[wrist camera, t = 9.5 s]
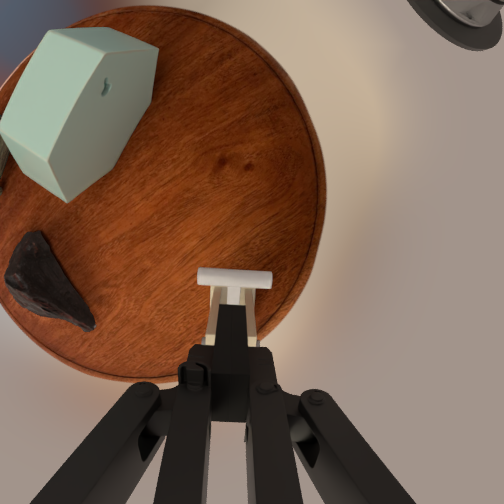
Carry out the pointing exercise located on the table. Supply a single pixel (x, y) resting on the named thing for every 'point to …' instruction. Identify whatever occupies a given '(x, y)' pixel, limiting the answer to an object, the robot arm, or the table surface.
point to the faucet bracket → (220, 297)
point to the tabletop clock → (3, 155)
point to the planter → (78, 106)
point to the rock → (44, 284)
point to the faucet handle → (234, 280)
